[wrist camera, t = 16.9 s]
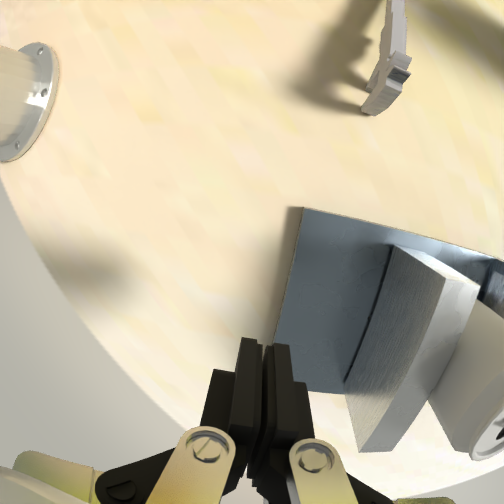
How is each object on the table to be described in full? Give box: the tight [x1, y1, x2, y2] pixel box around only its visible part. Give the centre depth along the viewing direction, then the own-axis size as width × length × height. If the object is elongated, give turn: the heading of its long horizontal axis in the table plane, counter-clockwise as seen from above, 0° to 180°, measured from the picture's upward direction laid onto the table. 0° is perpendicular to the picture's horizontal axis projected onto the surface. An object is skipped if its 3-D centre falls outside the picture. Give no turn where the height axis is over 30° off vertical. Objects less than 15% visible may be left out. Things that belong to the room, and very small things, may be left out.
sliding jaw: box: [343, 245, 480, 453], centre depth 16 cm, size 3×12×7 cm, turn 170°
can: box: [427, 299, 504, 461], centre depth 13 cm, size 8×8×12 cm
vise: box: [272, 207, 504, 395], centre depth 16 cm, size 19×14×8 cm
